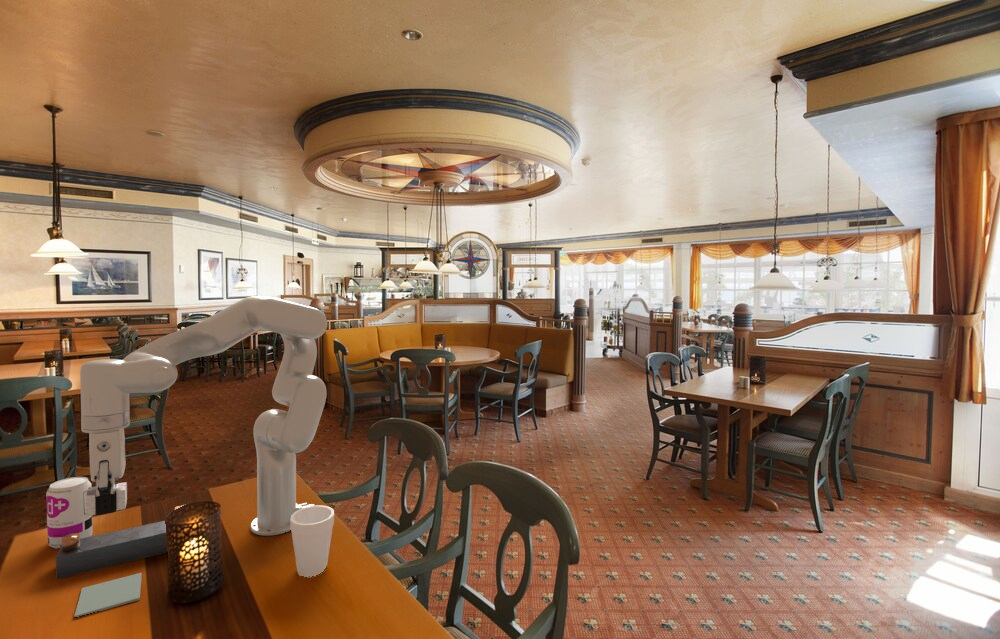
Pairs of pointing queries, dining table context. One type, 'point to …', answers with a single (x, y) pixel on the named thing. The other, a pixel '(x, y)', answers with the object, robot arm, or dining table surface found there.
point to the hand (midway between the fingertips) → (107, 507)
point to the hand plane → (109, 548)
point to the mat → (109, 594)
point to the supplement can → (67, 510)
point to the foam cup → (312, 538)
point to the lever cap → (120, 498)
